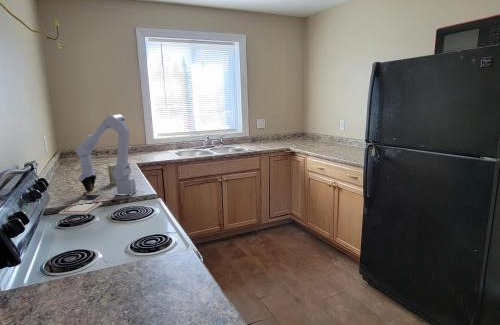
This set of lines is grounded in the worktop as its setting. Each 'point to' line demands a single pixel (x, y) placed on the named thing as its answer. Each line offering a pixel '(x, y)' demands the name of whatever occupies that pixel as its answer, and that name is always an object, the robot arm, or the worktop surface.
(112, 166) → the skincare box
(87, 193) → the stamp
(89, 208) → the marked board
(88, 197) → the ink pad
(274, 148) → the worktop surface
